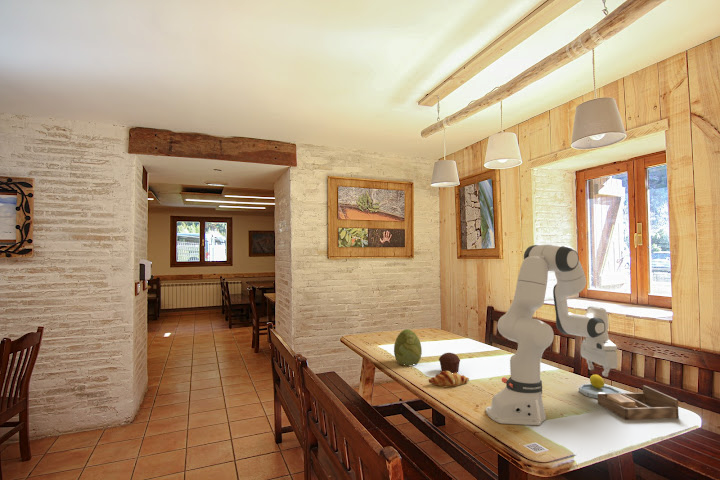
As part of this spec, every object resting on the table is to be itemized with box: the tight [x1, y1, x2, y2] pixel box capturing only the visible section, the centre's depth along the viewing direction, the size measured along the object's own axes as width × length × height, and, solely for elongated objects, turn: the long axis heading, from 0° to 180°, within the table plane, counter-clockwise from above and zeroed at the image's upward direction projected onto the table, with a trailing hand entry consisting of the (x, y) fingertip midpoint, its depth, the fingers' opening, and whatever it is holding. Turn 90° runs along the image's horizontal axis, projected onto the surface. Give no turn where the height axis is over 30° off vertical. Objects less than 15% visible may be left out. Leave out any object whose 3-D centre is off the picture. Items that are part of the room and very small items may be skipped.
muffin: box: [438, 352, 461, 373], centre depth 207 cm, size 12×11×10 cm
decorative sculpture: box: [393, 328, 423, 366], centre depth 224 cm, size 16×16×20 cm
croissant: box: [428, 371, 470, 387], centre depth 187 cm, size 21×10×8 cm, turn 100°
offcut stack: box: [607, 394, 638, 408], centre depth 152 cm, size 6×9×5 cm
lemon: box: [589, 374, 605, 388], centre depth 177 cm, size 6×6×8 cm
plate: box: [578, 383, 622, 400], centre depth 172 cm, size 16×16×2 cm
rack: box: [597, 385, 680, 421], centre depth 153 cm, size 21×16×7 cm
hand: (598, 372), depth 172 cm, fingers open, 8 cm apart
